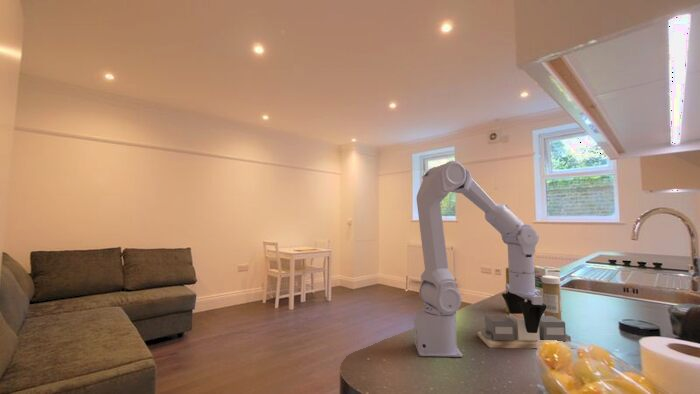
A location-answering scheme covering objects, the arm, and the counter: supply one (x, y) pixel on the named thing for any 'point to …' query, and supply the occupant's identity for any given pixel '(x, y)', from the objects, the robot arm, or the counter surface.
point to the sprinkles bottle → (551, 296)
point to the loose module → (522, 329)
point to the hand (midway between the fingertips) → (523, 327)
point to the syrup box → (545, 271)
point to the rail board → (503, 332)
